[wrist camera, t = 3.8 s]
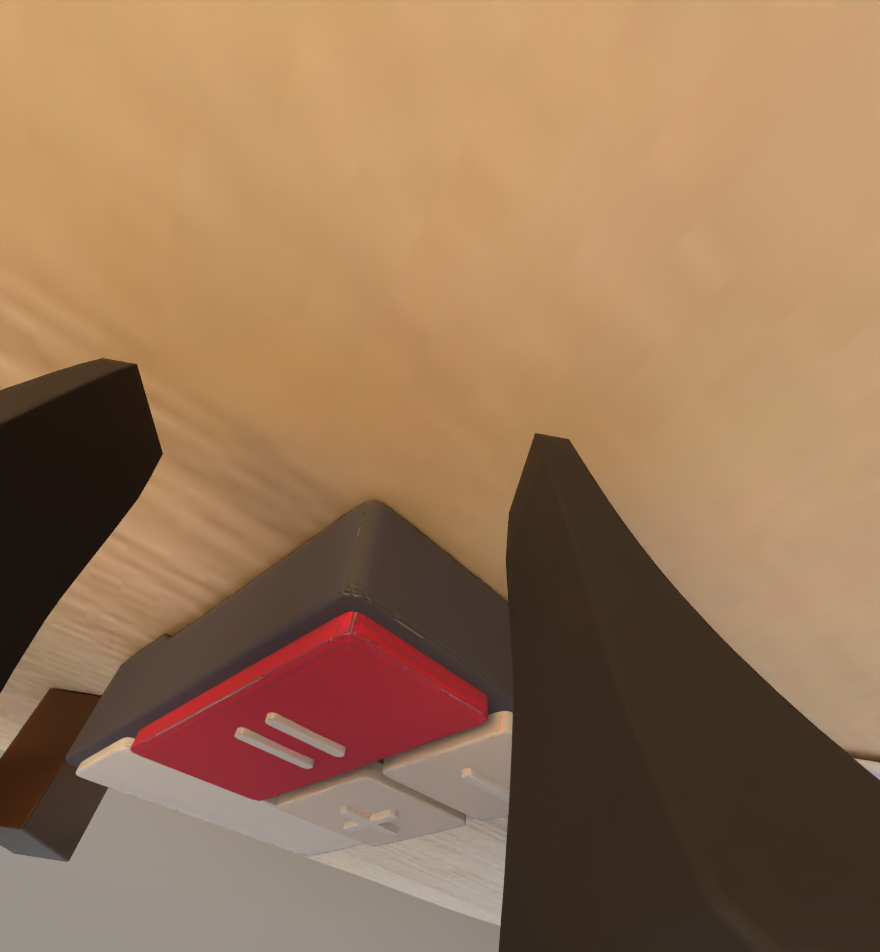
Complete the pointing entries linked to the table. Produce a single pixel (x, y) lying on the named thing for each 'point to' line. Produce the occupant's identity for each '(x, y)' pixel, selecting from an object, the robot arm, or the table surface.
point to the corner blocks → (47, 781)
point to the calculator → (323, 698)
